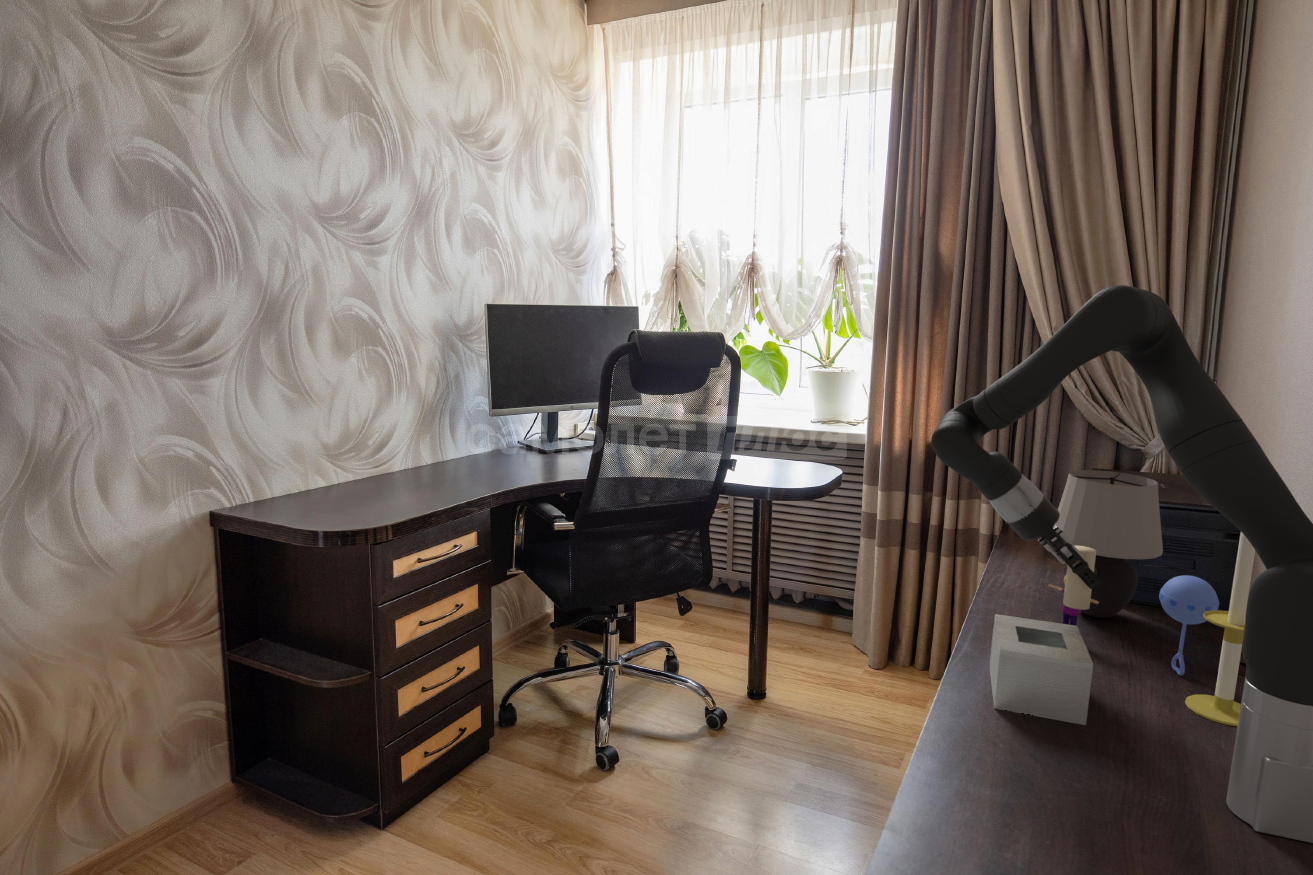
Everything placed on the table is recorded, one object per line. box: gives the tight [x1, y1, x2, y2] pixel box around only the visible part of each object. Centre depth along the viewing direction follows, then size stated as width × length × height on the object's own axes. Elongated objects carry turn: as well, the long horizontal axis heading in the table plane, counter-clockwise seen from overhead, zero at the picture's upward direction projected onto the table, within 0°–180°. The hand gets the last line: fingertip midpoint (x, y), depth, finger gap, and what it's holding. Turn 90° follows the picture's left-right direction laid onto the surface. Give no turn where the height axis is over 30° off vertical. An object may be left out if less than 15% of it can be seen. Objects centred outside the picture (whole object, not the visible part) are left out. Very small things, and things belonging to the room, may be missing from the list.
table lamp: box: [1053, 469, 1164, 619], centre depth 163 cm, size 21×21×30 cm
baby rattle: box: [1158, 575, 1220, 676], centre depth 137 cm, size 9×9×18 cm
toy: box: [1047, 568, 1099, 626], centre depth 151 cm, size 10×6×15 cm, turn 27°
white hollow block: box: [989, 613, 1094, 726], centre depth 128 cm, size 16×13×10 cm
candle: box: [1184, 531, 1256, 728], centre depth 123 cm, size 10×10×32 cm
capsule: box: [1062, 546, 1096, 611], centre depth 132 cm, size 4×4×10 cm
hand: (1091, 580), depth 132 cm, fingers closed on capsule, 4 cm apart
